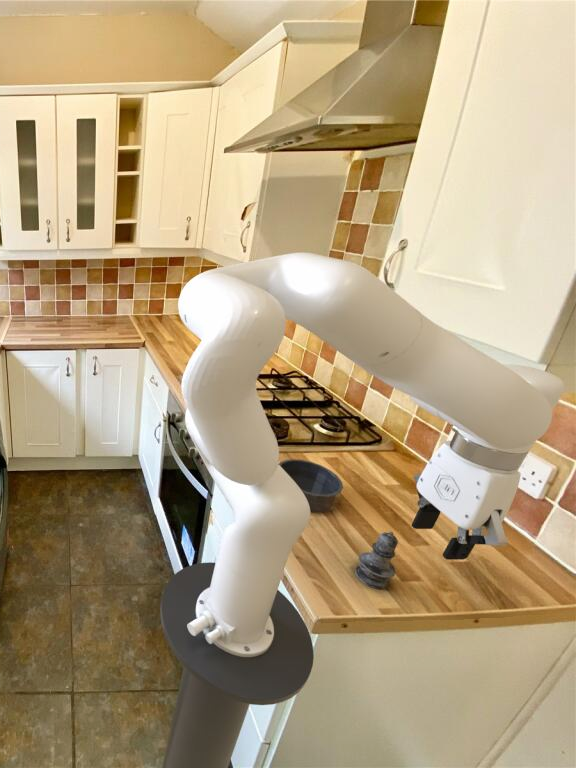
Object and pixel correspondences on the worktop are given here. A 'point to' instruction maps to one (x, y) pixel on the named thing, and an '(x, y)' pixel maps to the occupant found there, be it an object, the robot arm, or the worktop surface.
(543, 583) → the worktop surface
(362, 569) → the dark grey chess piece
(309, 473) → the dark grey bowl
